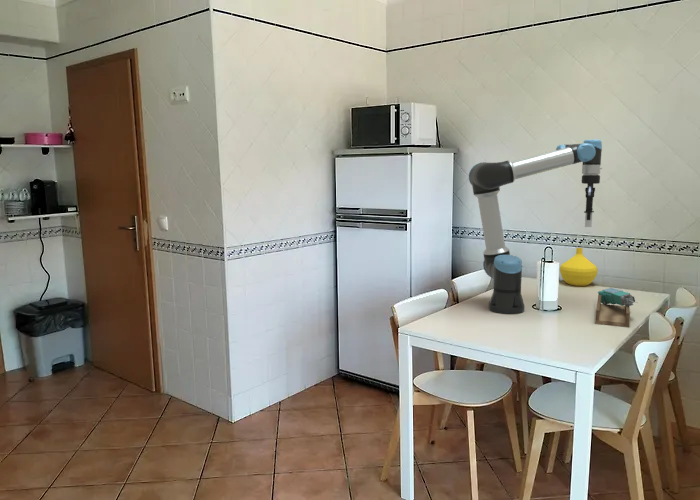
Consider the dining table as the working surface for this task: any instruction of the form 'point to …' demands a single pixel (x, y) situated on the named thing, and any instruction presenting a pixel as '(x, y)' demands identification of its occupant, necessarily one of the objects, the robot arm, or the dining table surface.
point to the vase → (578, 270)
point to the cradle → (612, 314)
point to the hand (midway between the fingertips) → (588, 226)
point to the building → (616, 297)
